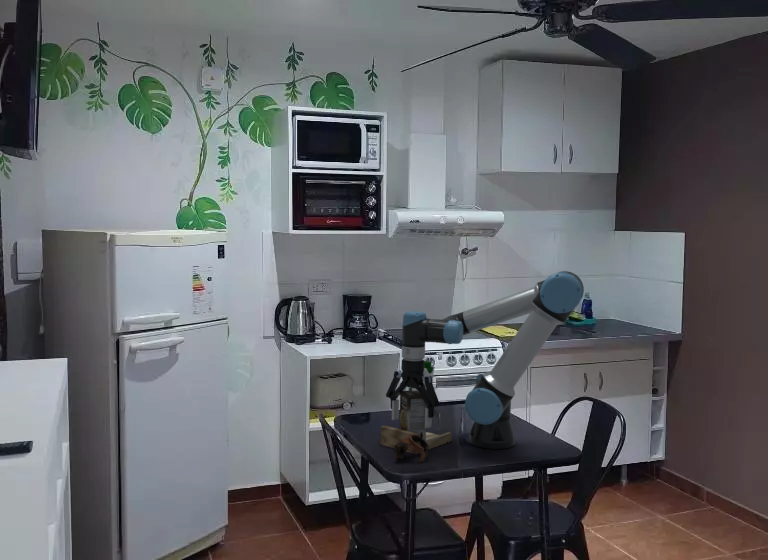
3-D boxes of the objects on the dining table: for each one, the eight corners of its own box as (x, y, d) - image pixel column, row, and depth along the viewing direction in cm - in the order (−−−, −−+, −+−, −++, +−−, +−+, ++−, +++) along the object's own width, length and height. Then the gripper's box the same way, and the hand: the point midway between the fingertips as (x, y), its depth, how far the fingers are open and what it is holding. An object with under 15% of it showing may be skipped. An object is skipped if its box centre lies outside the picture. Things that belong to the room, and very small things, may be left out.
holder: (451, 441, 240) (452, 423, 239) (416, 454, 224) (416, 435, 224) (417, 432, 249) (417, 415, 248) (380, 444, 233) (380, 426, 233)
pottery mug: (405, 453, 227) (419, 432, 226) (423, 473, 221) (437, 452, 219) (381, 451, 218) (395, 429, 217) (399, 472, 212) (413, 450, 211)
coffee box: (398, 438, 237) (399, 390, 236) (416, 437, 239) (417, 389, 238) (407, 446, 229) (409, 396, 228) (426, 445, 231) (427, 396, 230)
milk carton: (423, 416, 272) (425, 364, 271) (403, 412, 277) (405, 361, 276) (435, 411, 279) (437, 361, 278) (415, 408, 284) (417, 358, 283)
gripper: (376, 355, 237) (374, 418, 239) (437, 365, 221) (435, 432, 223) (390, 352, 243) (389, 414, 244) (451, 362, 227) (449, 428, 229)
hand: (411, 423), depth 234 cm, fingers open, 13 cm apart
